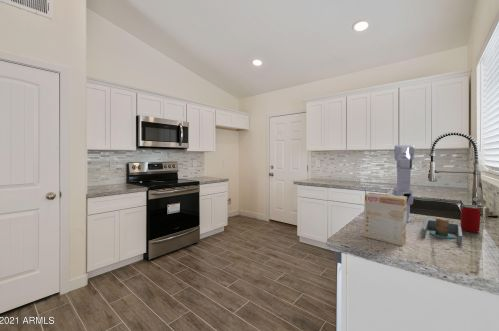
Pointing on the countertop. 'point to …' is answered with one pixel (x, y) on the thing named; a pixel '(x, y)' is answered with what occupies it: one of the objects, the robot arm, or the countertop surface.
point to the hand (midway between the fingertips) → (402, 208)
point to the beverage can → (470, 218)
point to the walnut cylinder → (442, 227)
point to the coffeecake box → (385, 218)
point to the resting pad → (442, 236)
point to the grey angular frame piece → (452, 228)
